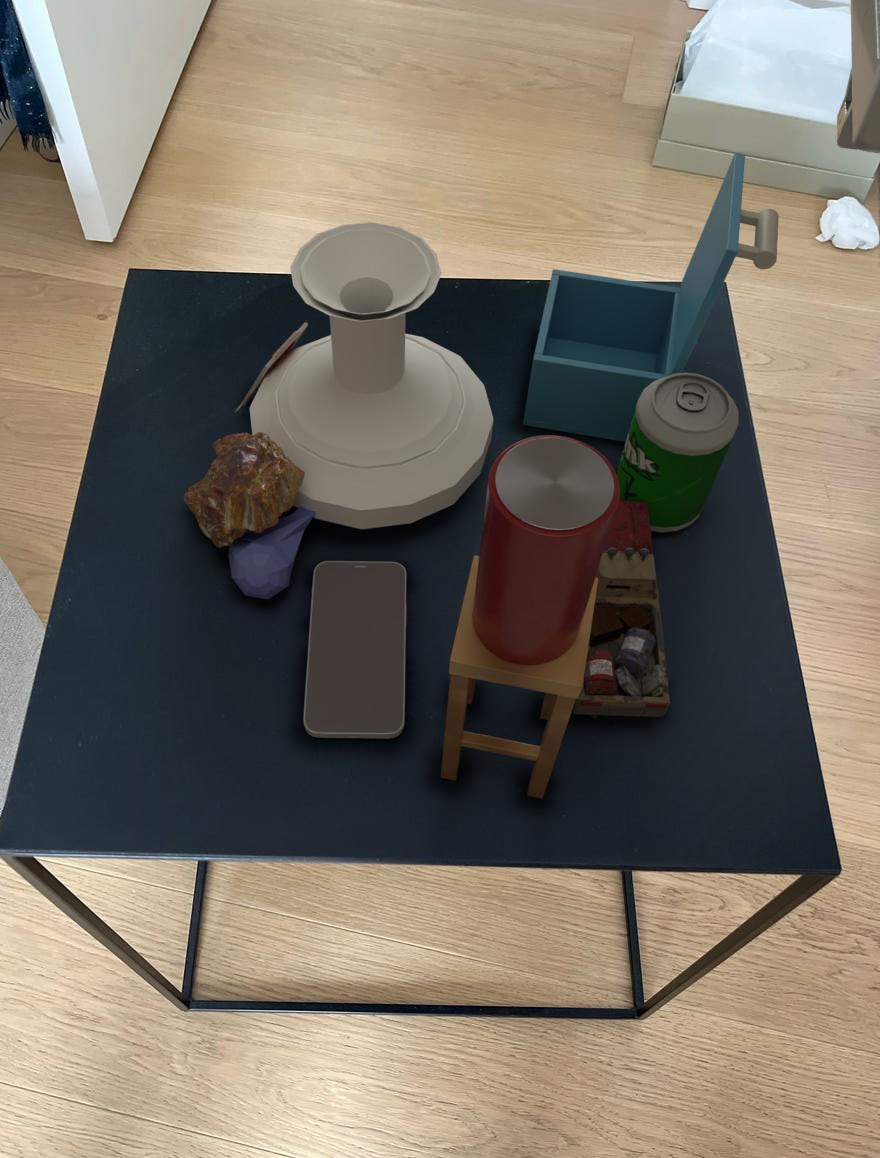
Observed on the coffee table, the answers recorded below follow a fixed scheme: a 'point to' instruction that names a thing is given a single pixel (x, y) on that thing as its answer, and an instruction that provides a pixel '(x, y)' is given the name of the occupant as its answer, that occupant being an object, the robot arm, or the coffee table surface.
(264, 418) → the candle holder
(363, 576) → the smartphone
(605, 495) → the red canister
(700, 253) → the lid
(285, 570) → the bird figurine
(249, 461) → the mineral specimen
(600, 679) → the toy vehicle
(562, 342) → the box
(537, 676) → the stool
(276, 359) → the decorative emblem
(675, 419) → the soda can
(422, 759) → the coffee table surface
